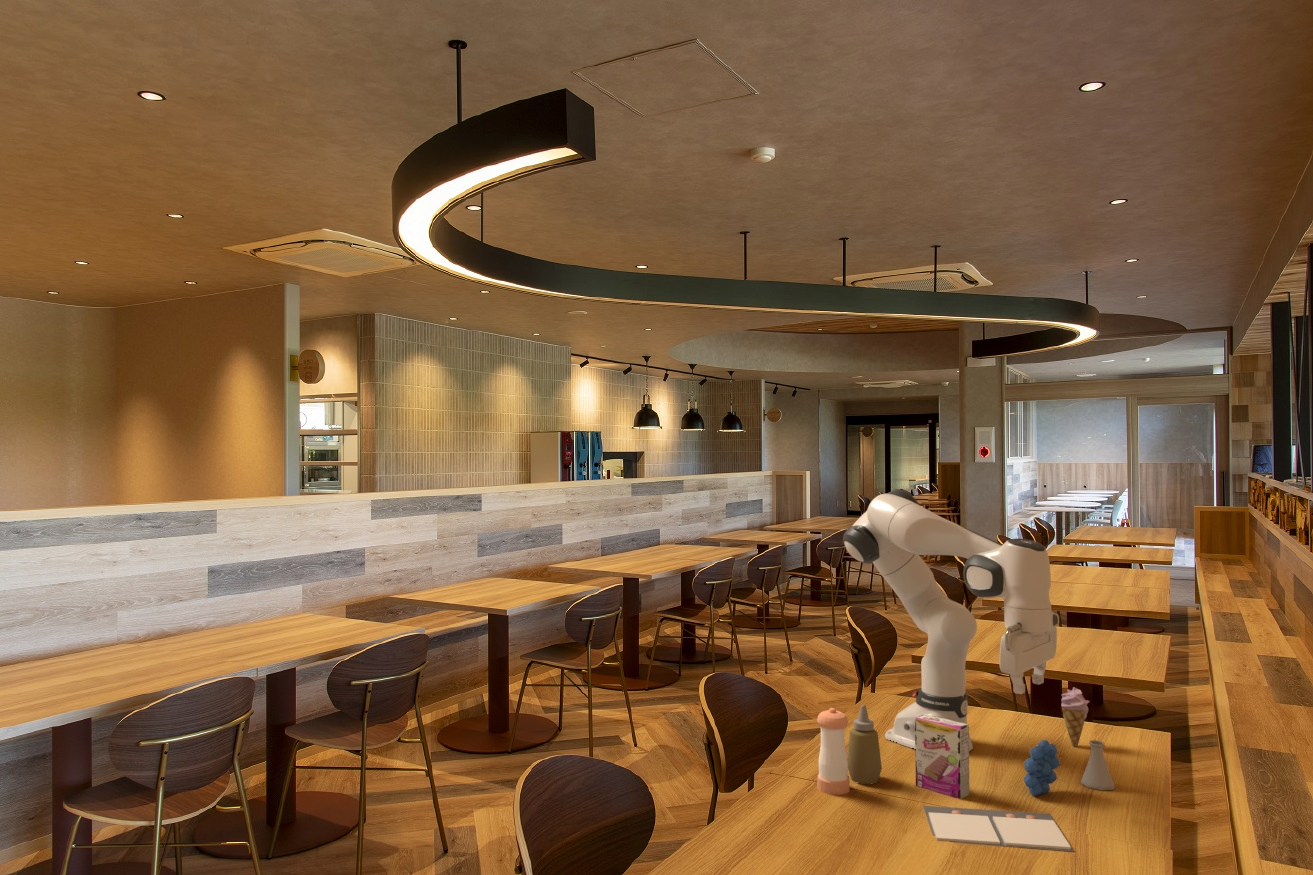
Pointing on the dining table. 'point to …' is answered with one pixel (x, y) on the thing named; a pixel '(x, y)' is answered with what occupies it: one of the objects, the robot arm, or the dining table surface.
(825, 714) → the pepper shaker
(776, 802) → the dining table surface
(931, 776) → the candy bar box
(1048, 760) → the grapes
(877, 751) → the squeeze bottle
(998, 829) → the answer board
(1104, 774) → the flask
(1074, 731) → the ice cream cone
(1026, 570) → the robot arm
